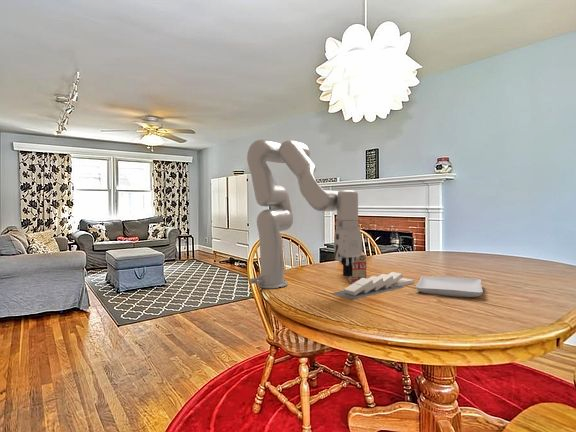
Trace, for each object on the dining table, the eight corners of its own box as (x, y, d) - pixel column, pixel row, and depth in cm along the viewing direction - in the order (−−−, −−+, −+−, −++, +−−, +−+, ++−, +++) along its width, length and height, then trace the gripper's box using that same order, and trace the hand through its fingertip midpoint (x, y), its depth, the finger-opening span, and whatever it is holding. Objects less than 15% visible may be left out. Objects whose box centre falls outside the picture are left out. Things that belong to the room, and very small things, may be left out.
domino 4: (385, 284, 131) (401, 273, 136) (375, 282, 135) (391, 271, 140) (386, 288, 131) (402, 277, 137) (376, 286, 136) (392, 275, 141)
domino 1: (353, 291, 122) (372, 279, 127) (343, 289, 126) (362, 277, 131) (354, 295, 122) (373, 283, 127) (345, 293, 126) (363, 281, 132)
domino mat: (352, 300, 117) (352, 299, 117) (330, 294, 127) (330, 293, 127) (405, 288, 133) (405, 286, 133) (382, 283, 142) (382, 282, 142)
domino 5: (398, 282, 134) (414, 280, 139) (387, 280, 138) (404, 278, 143) (397, 286, 134) (414, 284, 139) (387, 284, 138) (404, 282, 143)
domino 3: (375, 286, 128) (392, 275, 133) (365, 284, 132) (382, 273, 137) (376, 290, 128) (393, 279, 134) (366, 288, 133) (383, 277, 138)
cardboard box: (343, 274, 164) (342, 248, 163) (356, 273, 164) (355, 247, 163) (351, 284, 142) (351, 254, 142) (367, 284, 142) (366, 254, 142)
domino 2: (364, 289, 125) (382, 277, 130) (354, 286, 129) (372, 275, 134) (365, 293, 125) (383, 281, 130) (355, 290, 129) (373, 279, 135)
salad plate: (415, 295, 123) (414, 286, 123) (422, 283, 142) (421, 274, 142) (483, 302, 113) (483, 291, 113) (481, 287, 132) (481, 278, 132)
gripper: (338, 226, 116) (339, 280, 117) (370, 224, 125) (370, 275, 125) (324, 225, 123) (324, 276, 123) (355, 223, 131) (355, 271, 131)
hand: (347, 275), depth 124 cm, fingers closed
